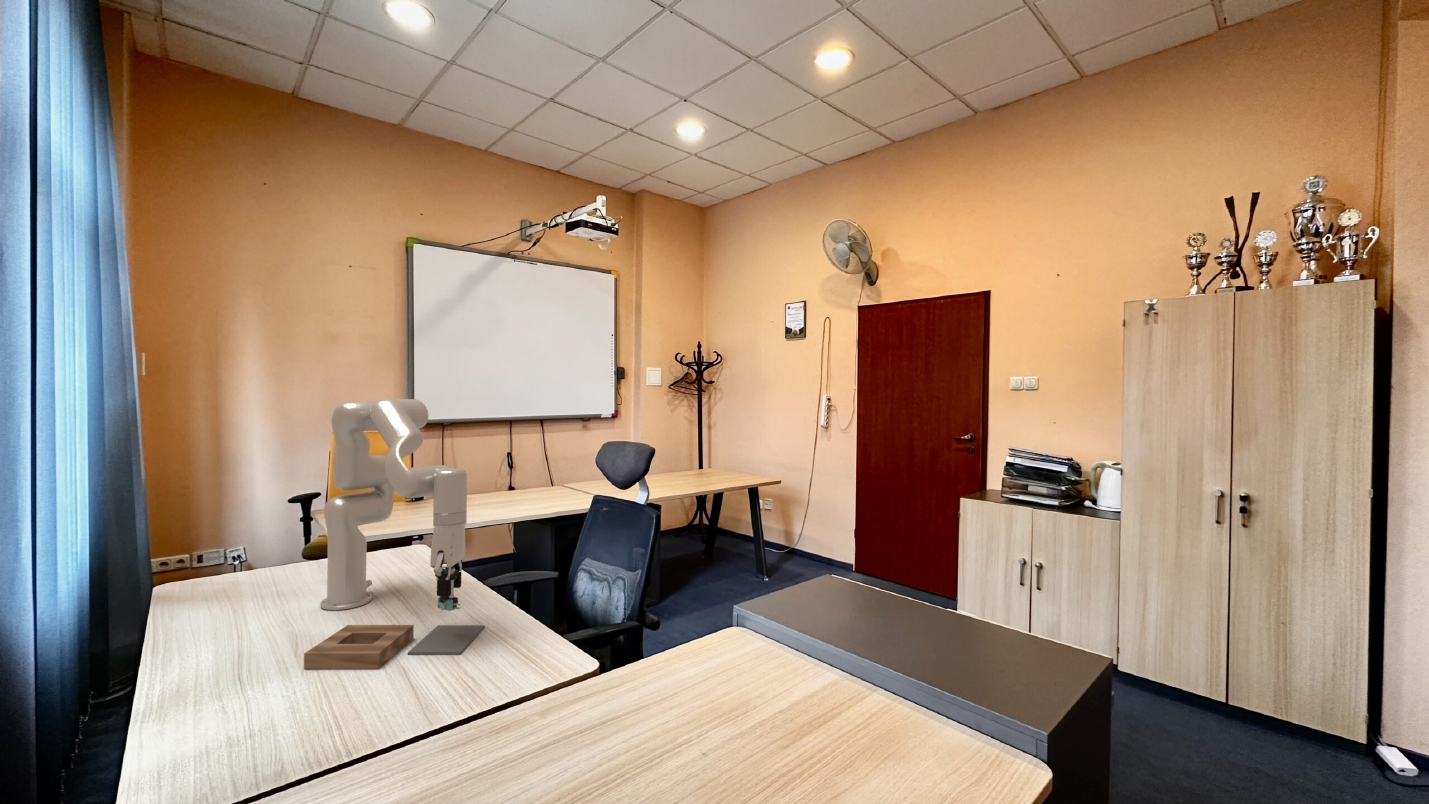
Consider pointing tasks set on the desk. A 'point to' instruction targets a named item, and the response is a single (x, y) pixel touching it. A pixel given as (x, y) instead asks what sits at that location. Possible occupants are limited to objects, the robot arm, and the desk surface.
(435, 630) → the pad
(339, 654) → the holder
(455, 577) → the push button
